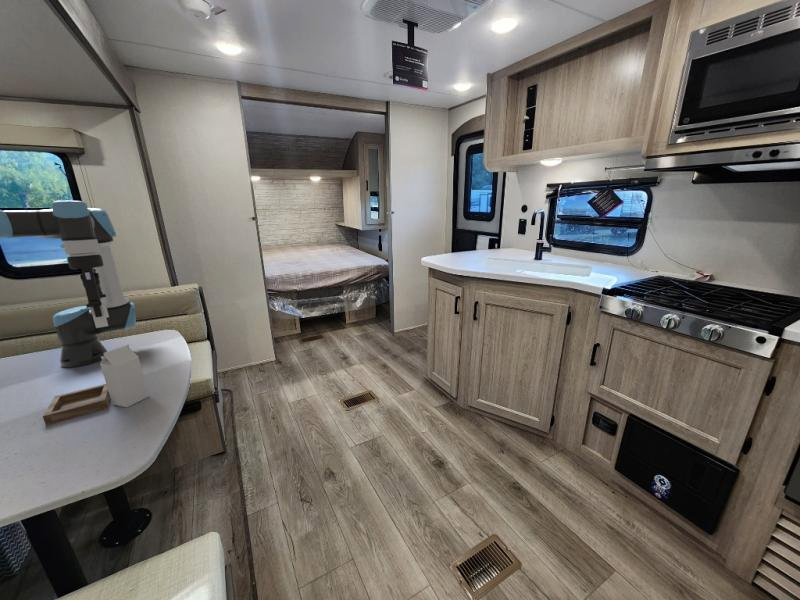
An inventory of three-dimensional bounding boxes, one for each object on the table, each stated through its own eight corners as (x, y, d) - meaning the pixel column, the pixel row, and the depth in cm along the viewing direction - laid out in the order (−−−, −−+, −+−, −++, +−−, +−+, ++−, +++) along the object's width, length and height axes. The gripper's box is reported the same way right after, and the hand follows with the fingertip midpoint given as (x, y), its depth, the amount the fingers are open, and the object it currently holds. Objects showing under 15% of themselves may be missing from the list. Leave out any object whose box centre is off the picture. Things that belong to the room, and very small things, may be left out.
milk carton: (149, 396, 110) (135, 345, 105) (126, 408, 104) (110, 354, 99) (135, 393, 113) (121, 343, 108) (112, 404, 106) (96, 352, 101)
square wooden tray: (57, 404, 107) (54, 396, 107) (112, 390, 115) (110, 382, 114) (45, 425, 96) (42, 416, 96) (107, 408, 104) (104, 400, 103)
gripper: (70, 253, 103) (89, 317, 108) (60, 258, 84) (83, 334, 89) (101, 251, 107) (118, 312, 113) (99, 255, 89) (118, 327, 94)
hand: (103, 322), depth 101 cm, fingers open, 13 cm apart
